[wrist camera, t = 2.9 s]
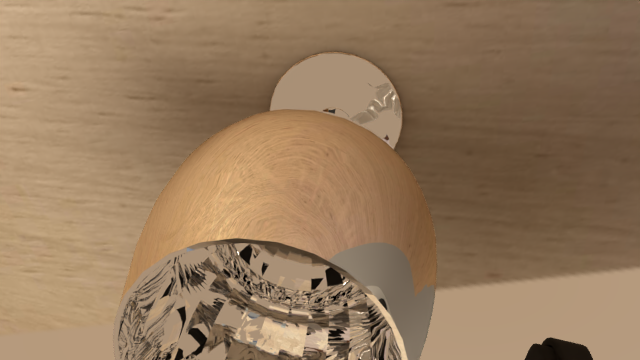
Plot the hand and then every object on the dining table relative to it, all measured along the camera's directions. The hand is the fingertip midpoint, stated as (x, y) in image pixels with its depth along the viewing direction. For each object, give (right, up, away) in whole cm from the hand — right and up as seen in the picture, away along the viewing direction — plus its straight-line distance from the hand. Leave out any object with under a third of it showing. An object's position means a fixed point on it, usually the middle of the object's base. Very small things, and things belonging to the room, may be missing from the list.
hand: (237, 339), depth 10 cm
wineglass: (+2, +5, +10) cm, 12 cm away
